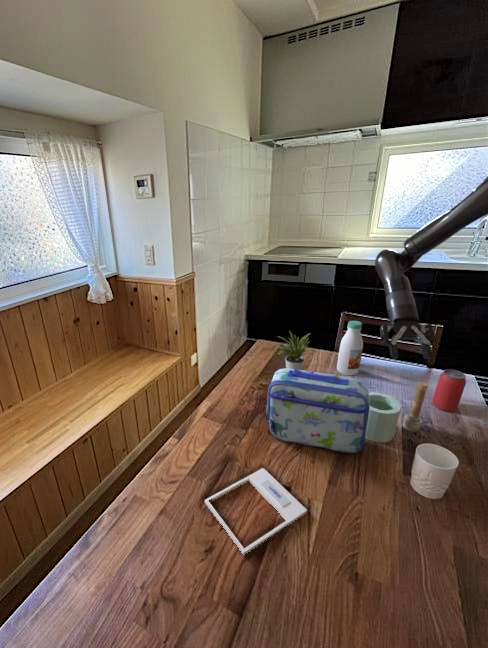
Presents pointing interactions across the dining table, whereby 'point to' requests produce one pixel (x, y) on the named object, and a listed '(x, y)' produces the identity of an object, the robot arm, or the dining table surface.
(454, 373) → the beer can
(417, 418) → the brush
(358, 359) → the milk bottle
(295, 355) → the house plant
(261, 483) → the photo frame
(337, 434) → the lunch box
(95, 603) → the dining table surface
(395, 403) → the jar
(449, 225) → the robot arm
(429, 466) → the white cup
